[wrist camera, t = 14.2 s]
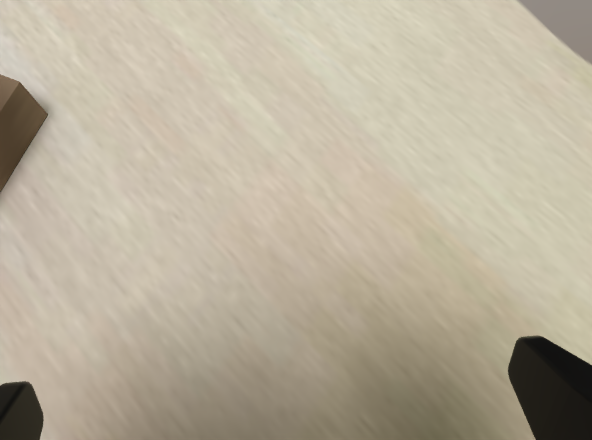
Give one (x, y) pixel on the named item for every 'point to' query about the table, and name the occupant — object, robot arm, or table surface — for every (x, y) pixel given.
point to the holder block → (16, 124)
